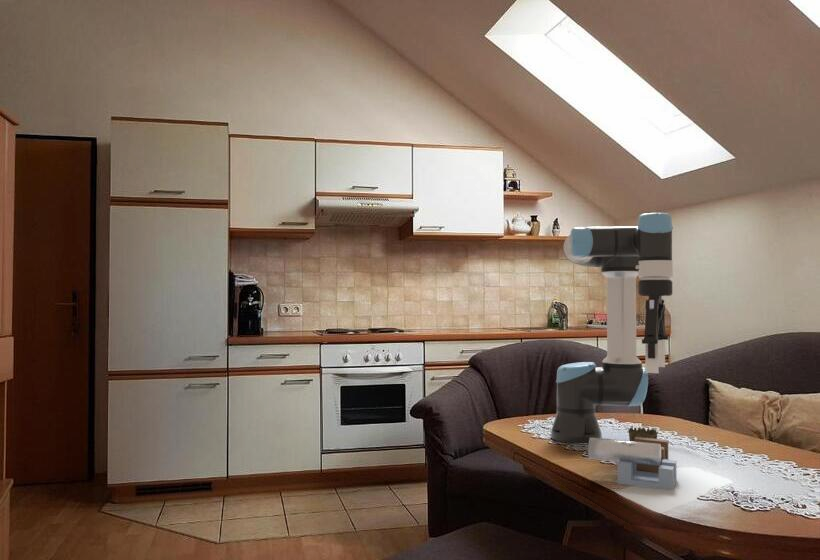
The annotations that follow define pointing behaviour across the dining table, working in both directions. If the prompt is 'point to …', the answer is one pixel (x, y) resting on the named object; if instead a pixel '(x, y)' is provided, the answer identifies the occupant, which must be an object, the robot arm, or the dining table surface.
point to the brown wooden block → (663, 453)
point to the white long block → (625, 451)
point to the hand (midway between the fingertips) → (655, 369)
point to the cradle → (648, 475)
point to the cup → (642, 433)
